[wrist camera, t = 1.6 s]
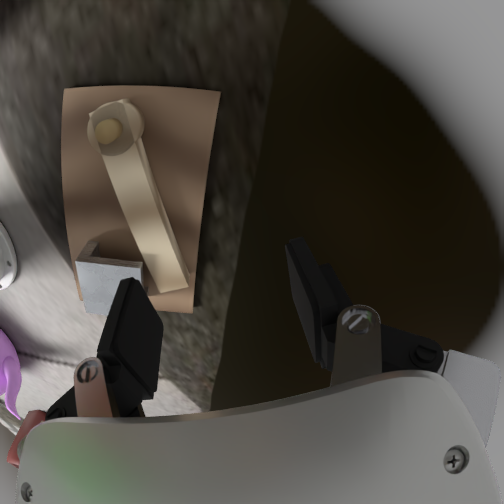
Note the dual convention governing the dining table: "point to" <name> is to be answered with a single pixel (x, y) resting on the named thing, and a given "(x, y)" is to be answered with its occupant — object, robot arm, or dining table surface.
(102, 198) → the walnut board
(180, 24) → the dining table surface
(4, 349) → the teapot
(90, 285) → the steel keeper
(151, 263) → the oak link
